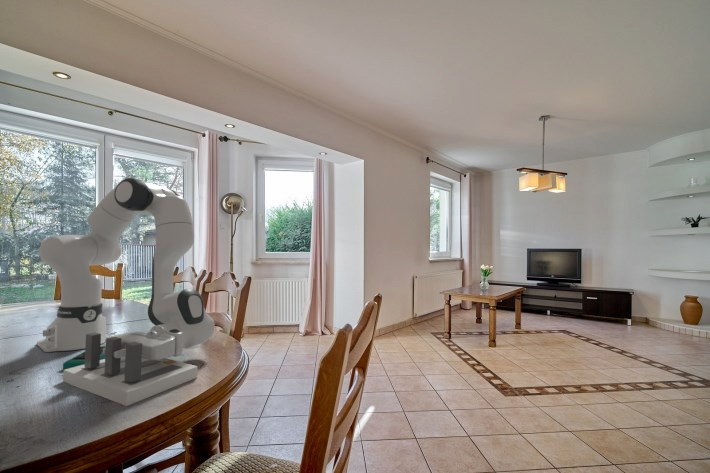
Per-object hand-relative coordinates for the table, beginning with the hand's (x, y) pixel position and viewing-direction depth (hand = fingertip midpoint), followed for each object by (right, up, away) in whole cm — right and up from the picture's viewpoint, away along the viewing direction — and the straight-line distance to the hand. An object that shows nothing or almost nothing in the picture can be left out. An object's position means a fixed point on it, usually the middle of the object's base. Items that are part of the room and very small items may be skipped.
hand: (109, 353), depth 81 cm
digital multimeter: (-19, -10, +18) cm, 28 cm away
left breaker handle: (-8, -5, +4) cm, 10 cm away
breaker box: (+2, -9, +5) cm, 10 cm away
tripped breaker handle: (0, -5, +1) cm, 5 cm away
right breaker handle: (+8, -5, -3) cm, 10 cm away
